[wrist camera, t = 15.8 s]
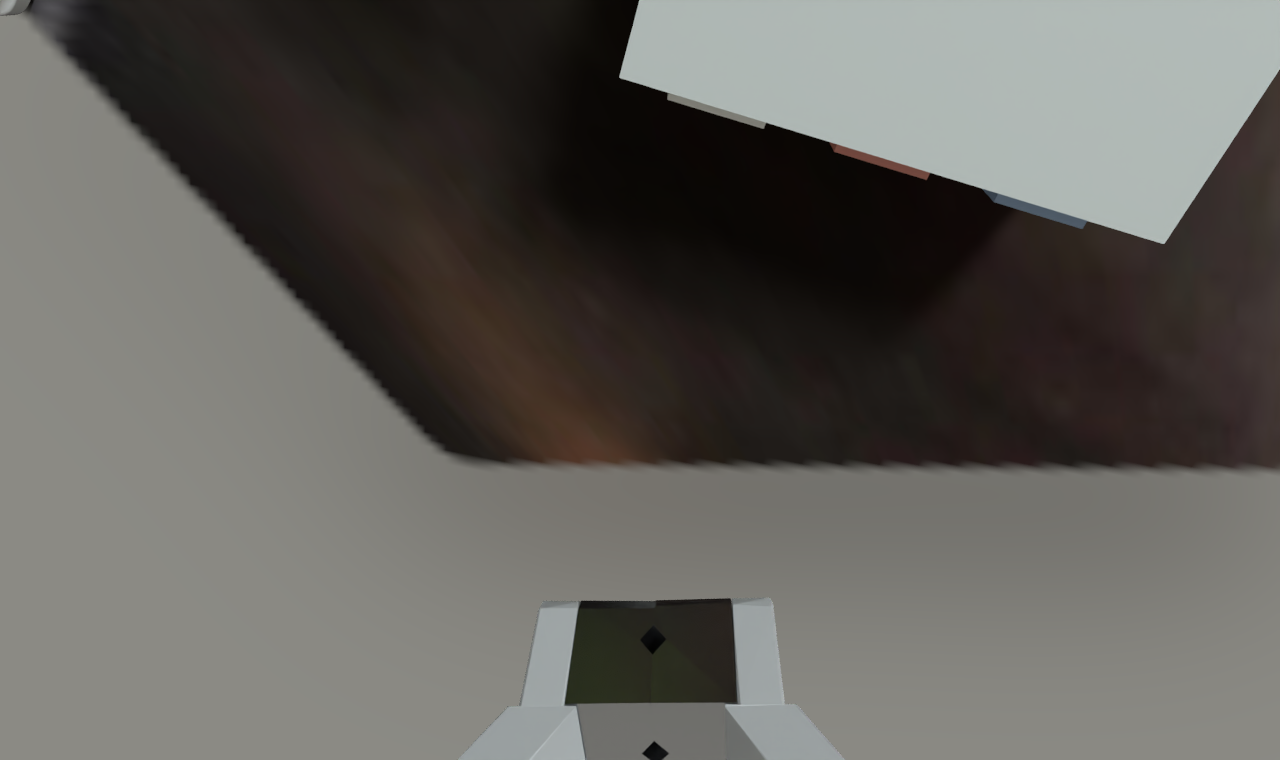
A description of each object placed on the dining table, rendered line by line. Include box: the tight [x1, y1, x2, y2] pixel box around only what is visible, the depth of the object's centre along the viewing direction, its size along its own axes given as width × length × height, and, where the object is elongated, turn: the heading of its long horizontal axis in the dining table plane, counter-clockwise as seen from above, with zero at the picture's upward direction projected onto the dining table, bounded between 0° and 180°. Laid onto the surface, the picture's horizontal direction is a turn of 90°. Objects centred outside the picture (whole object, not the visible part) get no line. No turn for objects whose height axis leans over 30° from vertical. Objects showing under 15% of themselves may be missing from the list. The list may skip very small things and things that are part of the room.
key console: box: [619, 0, 1280, 244], centre depth 34 cm, size 22×10×11 cm, turn 74°
